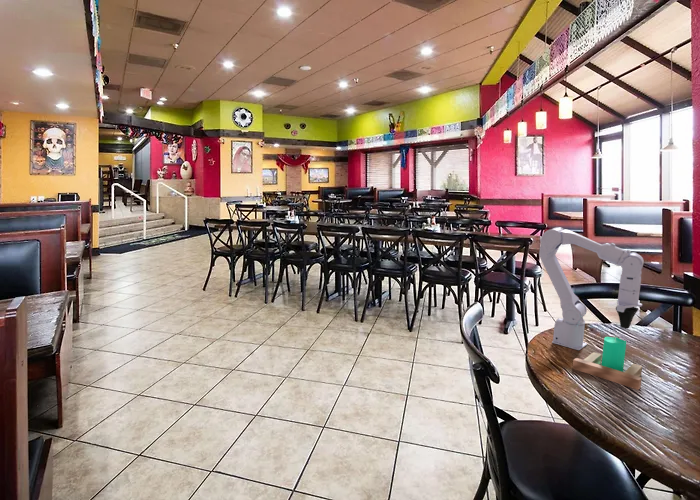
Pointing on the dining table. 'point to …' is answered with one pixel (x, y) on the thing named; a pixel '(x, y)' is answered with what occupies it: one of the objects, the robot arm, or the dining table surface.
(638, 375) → the stand
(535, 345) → the dining table surface
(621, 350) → the candle
